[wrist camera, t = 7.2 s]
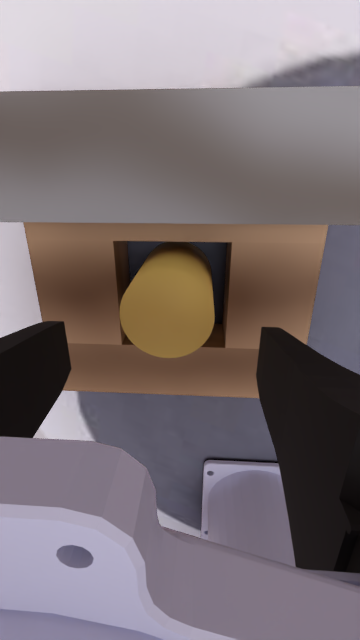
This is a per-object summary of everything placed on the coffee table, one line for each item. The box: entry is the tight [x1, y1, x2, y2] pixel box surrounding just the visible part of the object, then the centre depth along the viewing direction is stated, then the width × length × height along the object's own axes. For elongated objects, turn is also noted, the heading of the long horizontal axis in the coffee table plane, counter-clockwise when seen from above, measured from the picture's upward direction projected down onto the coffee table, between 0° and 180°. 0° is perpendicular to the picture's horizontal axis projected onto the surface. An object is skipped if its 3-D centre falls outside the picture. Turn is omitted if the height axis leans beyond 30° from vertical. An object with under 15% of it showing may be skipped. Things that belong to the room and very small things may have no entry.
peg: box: [119, 242, 215, 358], centre depth 16 cm, size 4×4×6 cm
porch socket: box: [0, 86, 360, 398], centre depth 16 cm, size 14×14×7 cm
